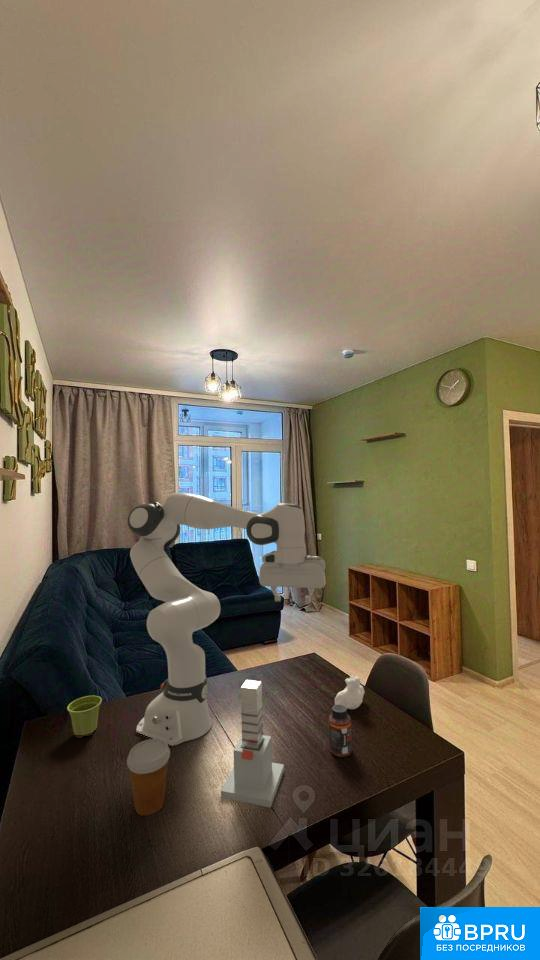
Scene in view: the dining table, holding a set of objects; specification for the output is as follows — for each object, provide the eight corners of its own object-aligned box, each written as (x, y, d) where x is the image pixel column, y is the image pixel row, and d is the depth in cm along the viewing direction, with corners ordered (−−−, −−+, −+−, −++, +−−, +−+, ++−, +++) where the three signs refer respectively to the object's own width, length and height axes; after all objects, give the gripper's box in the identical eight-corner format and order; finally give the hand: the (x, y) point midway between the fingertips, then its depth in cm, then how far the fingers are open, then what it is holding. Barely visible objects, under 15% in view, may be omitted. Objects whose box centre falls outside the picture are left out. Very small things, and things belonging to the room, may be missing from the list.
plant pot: (60, 738, 114) (59, 708, 114) (86, 721, 122) (85, 693, 123) (83, 745, 110) (83, 714, 110) (109, 727, 119) (108, 698, 119)
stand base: (221, 797, 90) (220, 752, 90) (239, 762, 101) (238, 723, 102) (270, 807, 86) (269, 761, 87) (284, 770, 98) (282, 730, 98)
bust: (338, 719, 123) (352, 700, 118) (325, 696, 128) (338, 677, 123) (365, 707, 129) (380, 688, 124) (351, 686, 135) (365, 667, 129)
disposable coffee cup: (147, 829, 82) (146, 770, 82) (118, 810, 87) (117, 755, 87) (179, 798, 90) (179, 745, 90) (151, 783, 95) (151, 733, 95)
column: (242, 755, 93) (240, 687, 93) (248, 745, 97) (246, 679, 97) (258, 758, 91) (256, 689, 92) (263, 747, 95) (261, 681, 96)
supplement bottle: (352, 759, 101) (350, 715, 102) (329, 757, 102) (327, 713, 103) (352, 745, 107) (350, 703, 107) (330, 743, 108) (328, 701, 109)
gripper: (326, 554, 118) (328, 600, 118) (263, 553, 124) (264, 597, 124) (323, 558, 112) (325, 606, 112) (256, 556, 118) (258, 602, 118)
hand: (292, 601), depth 118 cm, fingers open, 8 cm apart
